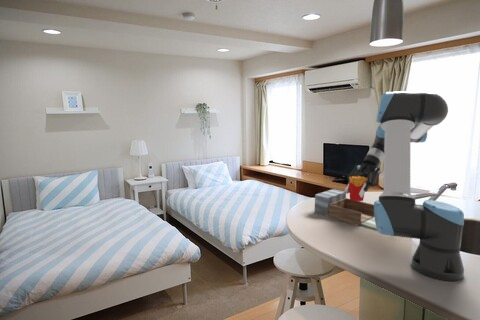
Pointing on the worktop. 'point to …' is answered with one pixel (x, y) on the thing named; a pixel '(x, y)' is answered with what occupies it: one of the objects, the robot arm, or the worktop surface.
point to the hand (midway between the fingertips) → (353, 193)
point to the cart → (345, 208)
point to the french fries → (356, 187)
